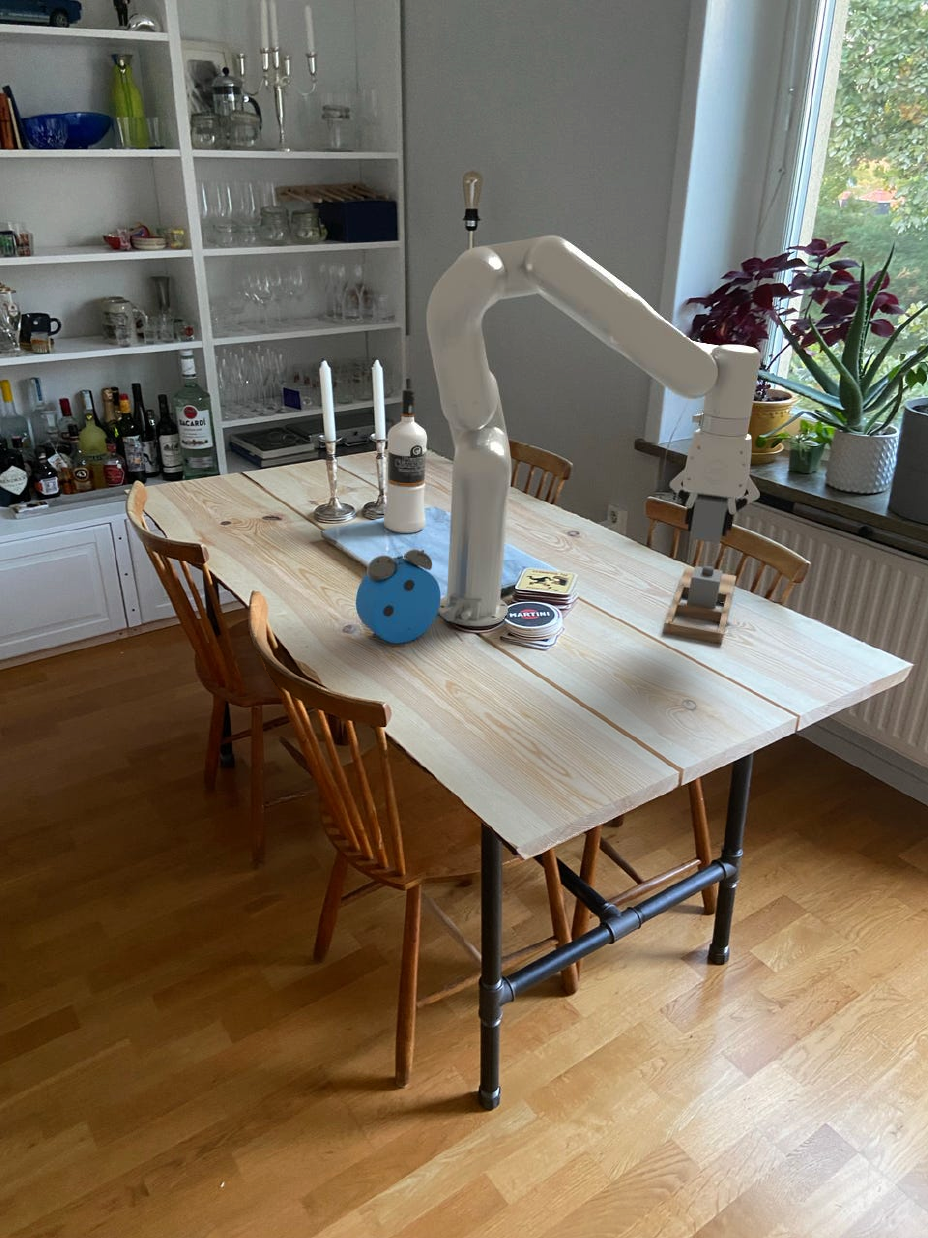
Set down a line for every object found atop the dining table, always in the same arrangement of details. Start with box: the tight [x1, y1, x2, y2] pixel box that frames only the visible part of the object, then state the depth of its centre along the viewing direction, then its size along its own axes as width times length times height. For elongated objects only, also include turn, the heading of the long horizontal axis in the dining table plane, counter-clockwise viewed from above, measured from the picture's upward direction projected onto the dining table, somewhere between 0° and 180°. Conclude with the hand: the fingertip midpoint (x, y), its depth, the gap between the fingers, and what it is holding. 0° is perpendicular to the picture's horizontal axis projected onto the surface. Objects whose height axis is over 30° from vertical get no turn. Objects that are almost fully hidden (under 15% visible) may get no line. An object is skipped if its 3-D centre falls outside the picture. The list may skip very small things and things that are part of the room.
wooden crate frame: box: [662, 566, 737, 645], centre depth 169 cm, size 28×10×3 cm, turn 160°
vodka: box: [383, 388, 428, 534], centre depth 193 cm, size 9×9×30 cm
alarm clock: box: [355, 549, 442, 644], centre depth 148 cm, size 13×6×15 cm, turn 125°
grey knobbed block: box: [686, 565, 724, 609], centre depth 168 cm, size 6×5×8 cm
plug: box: [689, 494, 728, 544], centre depth 153 cm, size 6×5×8 cm
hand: (707, 530), depth 154 cm, fingers closed on plug, 5 cm apart
